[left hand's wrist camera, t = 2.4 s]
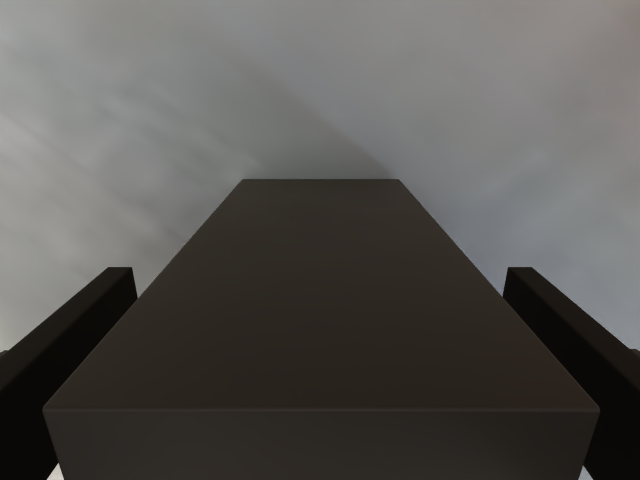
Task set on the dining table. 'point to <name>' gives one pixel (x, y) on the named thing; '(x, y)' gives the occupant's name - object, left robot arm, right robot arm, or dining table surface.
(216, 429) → the box
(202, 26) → the dining table surface
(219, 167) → the dining table surface
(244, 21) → the dining table surface
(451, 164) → the dining table surface
